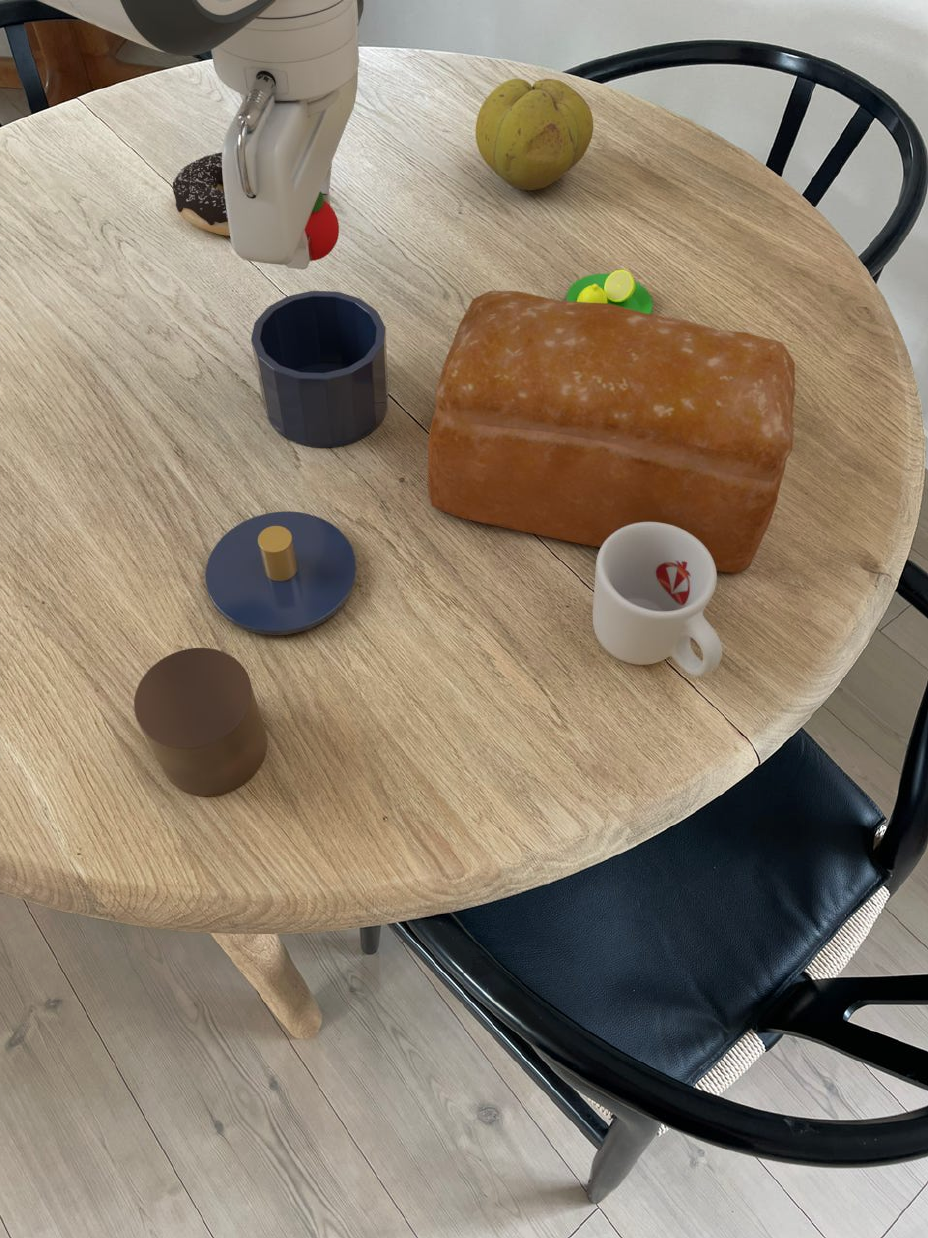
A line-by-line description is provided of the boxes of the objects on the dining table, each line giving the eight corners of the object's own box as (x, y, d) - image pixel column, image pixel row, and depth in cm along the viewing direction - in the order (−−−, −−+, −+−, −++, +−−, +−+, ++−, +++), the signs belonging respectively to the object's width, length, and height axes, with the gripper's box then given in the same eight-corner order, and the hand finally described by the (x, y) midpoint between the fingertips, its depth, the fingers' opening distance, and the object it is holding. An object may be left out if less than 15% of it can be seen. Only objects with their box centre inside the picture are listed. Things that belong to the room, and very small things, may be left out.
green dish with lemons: (604, 268, 94) (608, 242, 92) (668, 307, 91) (674, 282, 89) (548, 304, 91) (551, 278, 89) (613, 346, 88) (618, 321, 86)
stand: (172, 811, 62) (146, 764, 56) (150, 720, 66) (123, 667, 60) (279, 776, 64) (264, 726, 58) (252, 689, 67) (235, 633, 61)
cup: (740, 674, 69) (773, 610, 62) (655, 729, 66) (680, 669, 60) (642, 571, 74) (663, 502, 67) (559, 619, 71) (572, 552, 65)
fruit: (577, 219, 99) (590, 123, 90) (463, 203, 100) (466, 105, 91) (591, 159, 105) (605, 63, 96) (483, 144, 106) (488, 48, 97)
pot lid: (228, 658, 69) (216, 621, 65) (193, 543, 74) (180, 502, 70) (376, 614, 71) (373, 576, 67) (332, 505, 77) (326, 464, 73)
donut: (279, 249, 94) (273, 212, 91) (161, 234, 95) (151, 197, 92) (307, 184, 101) (302, 147, 97) (196, 171, 101) (188, 133, 98)
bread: (458, 399, 84) (463, 239, 71) (764, 458, 81) (828, 303, 68) (416, 520, 76) (413, 365, 63) (751, 590, 73) (821, 443, 60)
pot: (284, 461, 79) (271, 391, 73) (251, 377, 84) (237, 306, 78) (405, 429, 81) (403, 360, 75) (366, 350, 87) (361, 279, 81)
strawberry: (289, 279, 69) (281, 221, 65) (273, 243, 71) (264, 184, 68) (349, 266, 70) (344, 208, 66) (331, 231, 72) (325, 173, 69)
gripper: (292, 135, 52) (317, 339, 64) (369, -36, 64) (379, 164, 75) (178, 122, 53) (223, 328, 64) (275, -45, 64) (299, 155, 75)
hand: (308, 238), depth 70 cm, fingers closed on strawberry, 4 cm apart
